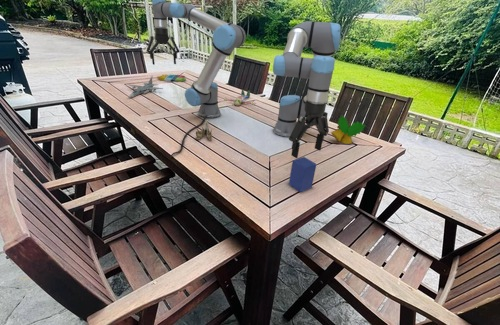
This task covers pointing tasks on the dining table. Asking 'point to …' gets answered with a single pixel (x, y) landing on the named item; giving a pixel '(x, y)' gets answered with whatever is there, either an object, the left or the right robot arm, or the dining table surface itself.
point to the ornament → (347, 130)
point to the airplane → (143, 88)
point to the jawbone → (204, 132)
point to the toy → (241, 99)
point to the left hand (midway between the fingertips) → (164, 64)
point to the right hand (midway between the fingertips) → (306, 152)
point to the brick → (302, 174)
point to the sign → (172, 78)
